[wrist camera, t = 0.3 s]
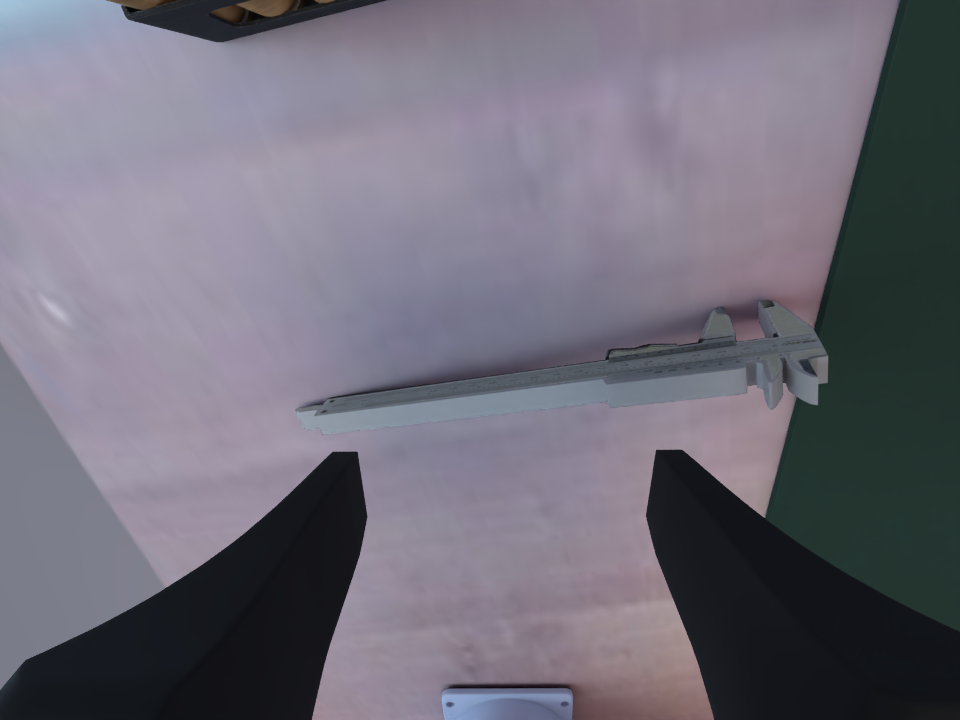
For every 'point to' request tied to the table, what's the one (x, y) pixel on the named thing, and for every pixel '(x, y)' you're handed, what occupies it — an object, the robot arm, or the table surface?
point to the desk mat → (892, 343)
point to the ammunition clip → (230, 14)
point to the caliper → (607, 379)
